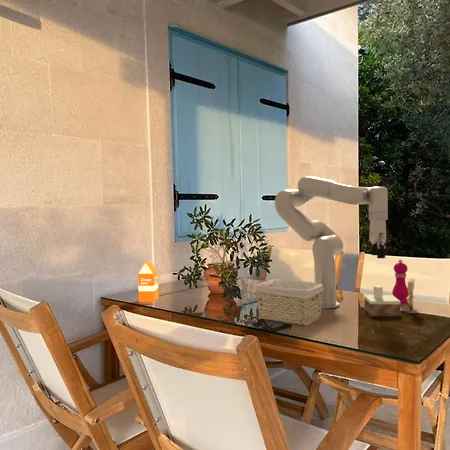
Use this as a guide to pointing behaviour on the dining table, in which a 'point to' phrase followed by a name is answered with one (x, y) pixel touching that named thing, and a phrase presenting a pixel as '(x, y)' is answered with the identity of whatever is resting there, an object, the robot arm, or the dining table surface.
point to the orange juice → (148, 283)
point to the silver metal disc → (411, 311)
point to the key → (410, 293)
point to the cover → (381, 297)
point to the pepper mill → (400, 283)
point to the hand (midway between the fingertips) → (378, 256)
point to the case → (382, 309)
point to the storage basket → (289, 301)
